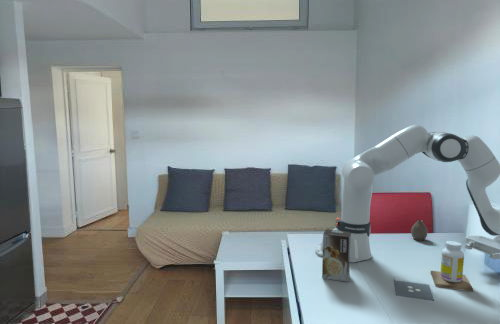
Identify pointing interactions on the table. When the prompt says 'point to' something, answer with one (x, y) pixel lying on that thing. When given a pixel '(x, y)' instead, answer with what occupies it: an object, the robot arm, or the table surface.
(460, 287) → the walnut board
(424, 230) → the vase
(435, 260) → the table surface
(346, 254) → the coffee box
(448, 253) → the supplement bottle
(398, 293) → the slate mat
